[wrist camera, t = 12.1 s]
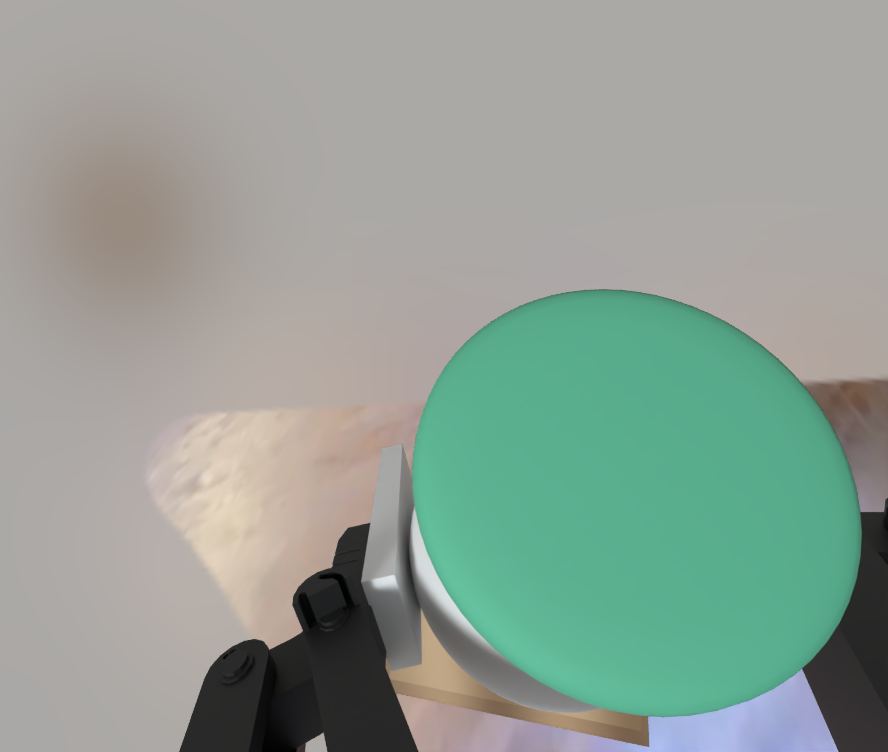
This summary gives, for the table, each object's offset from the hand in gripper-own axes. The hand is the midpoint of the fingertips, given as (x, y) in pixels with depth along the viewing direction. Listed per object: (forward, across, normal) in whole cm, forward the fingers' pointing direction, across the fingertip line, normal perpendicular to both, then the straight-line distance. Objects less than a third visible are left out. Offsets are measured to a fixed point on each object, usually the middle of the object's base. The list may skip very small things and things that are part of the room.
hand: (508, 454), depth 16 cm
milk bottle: (+4, 0, -9) cm, 9 cm away
